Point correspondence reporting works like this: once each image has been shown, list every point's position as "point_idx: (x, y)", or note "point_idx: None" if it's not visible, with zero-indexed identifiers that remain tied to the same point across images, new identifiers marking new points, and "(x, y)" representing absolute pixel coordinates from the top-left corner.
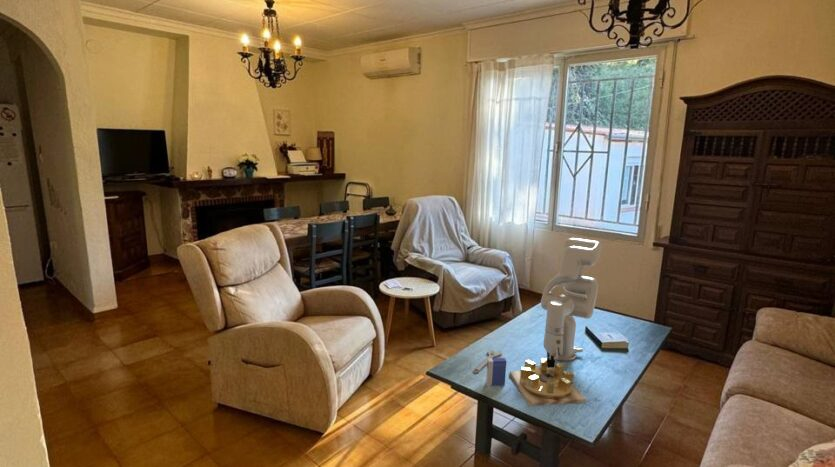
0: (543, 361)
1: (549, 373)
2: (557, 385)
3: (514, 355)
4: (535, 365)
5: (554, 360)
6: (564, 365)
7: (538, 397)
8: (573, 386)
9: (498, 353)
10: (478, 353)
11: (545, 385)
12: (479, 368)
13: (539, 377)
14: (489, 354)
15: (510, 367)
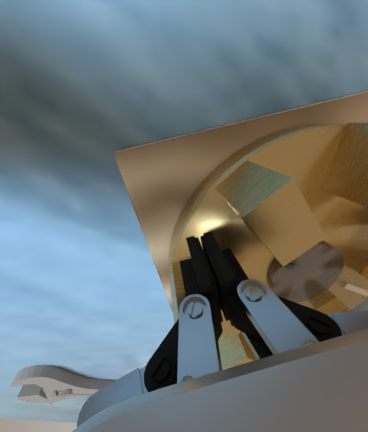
0: (227, 327)
1: (250, 250)
2: (365, 227)
3: (15, 334)
4: (240, 340)
5: (231, 272)
6: (288, 178)
7: None
8: (325, 111)
9: (46, 383)
10: (64, 405)
11: (345, 274)
12: None
13: (298, 299)
14: (70, 396)
15: (134, 337)
